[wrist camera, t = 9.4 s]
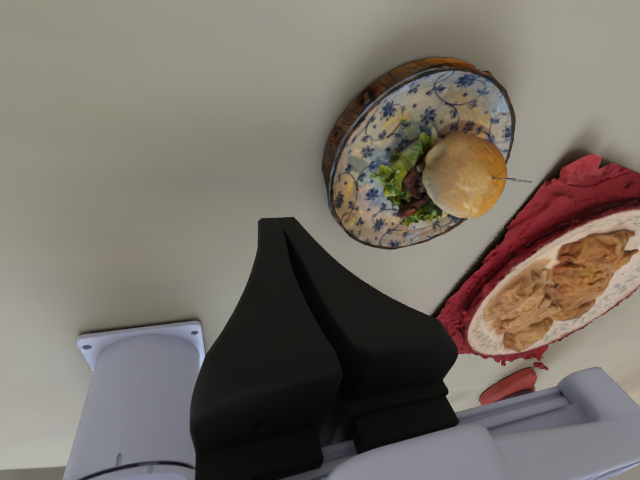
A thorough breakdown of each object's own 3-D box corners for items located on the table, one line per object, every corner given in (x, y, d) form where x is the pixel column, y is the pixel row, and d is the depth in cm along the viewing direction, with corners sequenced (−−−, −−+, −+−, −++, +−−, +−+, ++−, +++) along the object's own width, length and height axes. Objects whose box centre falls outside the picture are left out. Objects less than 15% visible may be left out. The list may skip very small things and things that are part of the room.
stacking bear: (530, 385, 59) (623, 505, 45) (479, 408, 60) (556, 533, 46) (532, 364, 51) (644, 499, 38) (474, 391, 52) (564, 532, 39)
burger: (281, 179, 19) (312, 268, 13) (441, -5, 15) (580, 11, 9) (394, 257, 26) (445, 336, 20) (523, 146, 22) (629, 206, 16)
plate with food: (699, 201, 33) (741, 219, 31) (531, 351, 46) (550, 373, 44) (566, 141, 23) (611, 161, 21) (400, 353, 37) (414, 382, 34)
